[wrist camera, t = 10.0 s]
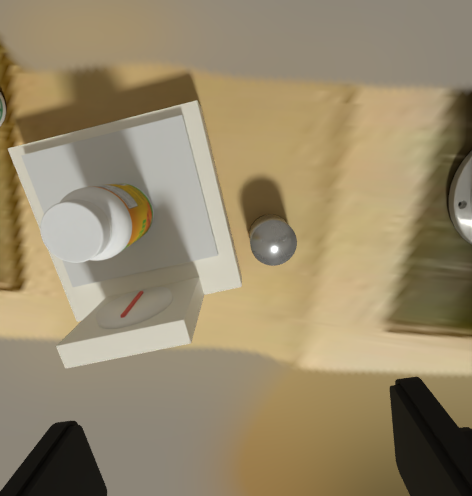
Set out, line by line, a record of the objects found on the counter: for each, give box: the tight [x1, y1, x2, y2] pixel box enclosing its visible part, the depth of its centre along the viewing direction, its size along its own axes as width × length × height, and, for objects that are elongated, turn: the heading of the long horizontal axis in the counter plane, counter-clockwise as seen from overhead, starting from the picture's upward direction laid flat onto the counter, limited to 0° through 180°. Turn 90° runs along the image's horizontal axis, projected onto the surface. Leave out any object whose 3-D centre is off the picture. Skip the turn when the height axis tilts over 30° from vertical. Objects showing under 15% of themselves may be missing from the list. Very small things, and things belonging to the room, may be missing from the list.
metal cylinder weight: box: [249, 215, 297, 265], centre depth 31 cm, size 4×4×4 cm
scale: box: [8, 100, 242, 368], centre depth 27 cm, size 18×18×12 cm
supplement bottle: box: [40, 183, 154, 263], centre depth 24 cm, size 5×5×10 cm
